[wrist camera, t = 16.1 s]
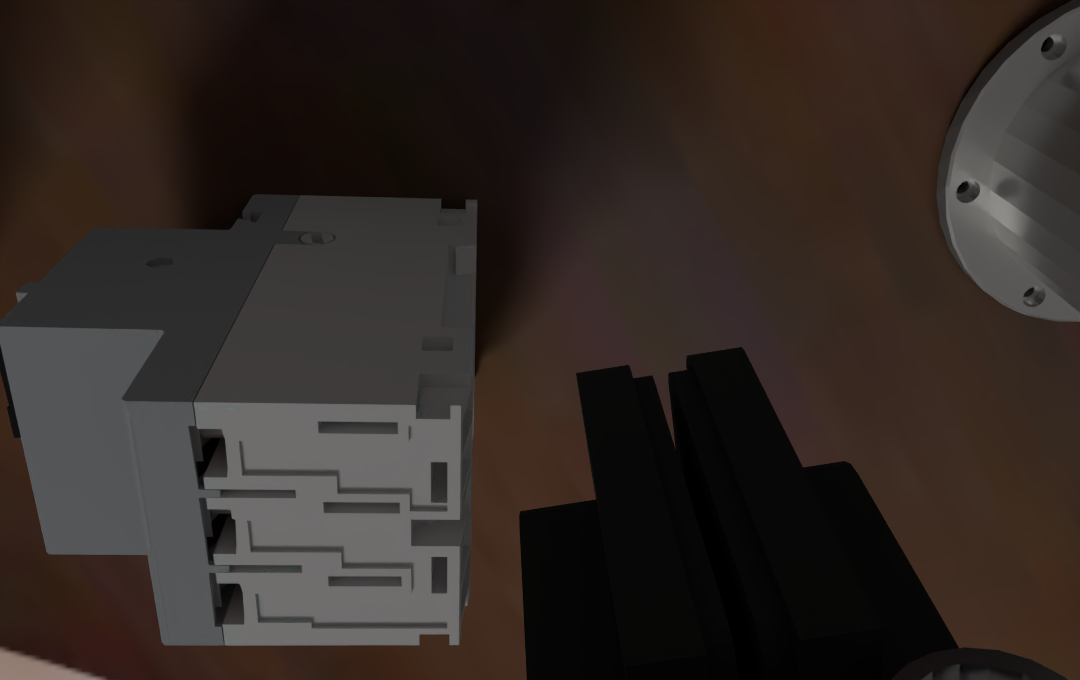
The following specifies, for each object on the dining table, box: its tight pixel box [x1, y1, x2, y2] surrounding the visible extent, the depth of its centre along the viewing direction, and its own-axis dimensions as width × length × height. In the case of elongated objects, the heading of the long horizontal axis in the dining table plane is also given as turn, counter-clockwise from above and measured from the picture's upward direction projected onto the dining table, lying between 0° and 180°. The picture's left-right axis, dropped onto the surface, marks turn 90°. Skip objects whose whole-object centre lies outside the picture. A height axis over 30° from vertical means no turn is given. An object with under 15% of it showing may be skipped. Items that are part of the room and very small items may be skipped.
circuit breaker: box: [0, 194, 477, 645], centre depth 32 cm, size 8×14×15 cm, turn 88°
